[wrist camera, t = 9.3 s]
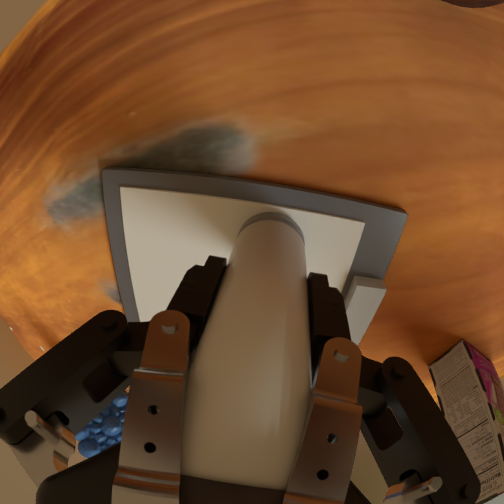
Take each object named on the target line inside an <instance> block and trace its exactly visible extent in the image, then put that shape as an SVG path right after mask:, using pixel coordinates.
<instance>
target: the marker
mask: <svg viewBox="0 0 504 504" xmlns="http://www.w3.org/2000/svg"><path fill="white" fill-rule="evenodd" d="M311 388H312V375H311V339H310V315H309V296H308V280H307V266H306V253H305V241H304V236H303V233H302V231H301V229H300V227H299V226H298V225H297V223H296V222H295V221H293V220H292V219H291V218H289V217H287V216H285V215H283V214H280V213H274V212H265V213H260V214H257V215H255V216H253V217H251V218H249V219H248V220H247V221H246V222H245V223H244V224H243V225H242V227H241V229H240V231H239V233H238V236H237V239H236V241H235V244H234V247H233V249H232V252H231V255H230V258H229V260H228V263H227V266H226V269H225V271H224V274H223V277H222V280H221V282H220V285H219V288H218V291H217V293H216V296H215V299H214V302H213V304H212V307H211V310H210V313H209V316H208V318H207V321H206V324H205V327H204V330H203V332H202V335H201V338H200V341H199V344H198V347H197V350H196V352H195V355H194V358H193V361H192V364H191V367H190V370H189V373H188V381H187V389H186V399H185V412H184V426H183V447H182V475H181V504H281V501H282V498H283V495H284V493H285V487H286V484H287V481H288V478H289V475H290V472H291V469H292V466H293V462H294V459H295V456H296V452H297V449H298V445H299V442H300V438H301V434H302V430H303V426H304V422H305V418H306V413H307V409H308V404H309V399H310V393H311Z"/></svg>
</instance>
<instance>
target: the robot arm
mask: <svg viewBox="0 0 504 504" xmlns="http://www.w3.org/2000/svg"><path fill="white" fill-rule="evenodd" d="M226 265H227V259H226V258H223V257H217V256H211V255H209V256H208V258H207V260H206V263H205V265H204V266H201V265H194V266H193V267H191V268H190V269H189V270H187V272H186V273H185V275H184V277H183V280H182V281H181V282H180V284H179V287H178V288H177V290H176V292H175V294H174V295H173V297H172V299H171V301H170V303H169V305H168V307H167V309H166V310H165V311H161V312H159V313H157V314H155V315H154V316H153V317H152V319H151V320H150V321H147V322H128V321H127V318H126V316H125V315H124V314H123V313H121V312H119V311H116V310H106V311H103V312H100V313H99V314H97V315H96V316H94V317H93V318H92V319H90V320H89V321H88V322H86V323H85V324H83V325H82V326H81V327H79V328H78V329H77V330H75V331H74V332H73V333H71V334H70V335H69V336H67V337H66V338H65V339H63V340H62V341H61V342H59V343H58V344H57V345H55V346H54V347H53V348H51V349H50V350H49V351H48V352H46V353H45V354H44V355H42V356H41V357H40V358H39V359H37V360H36V361H35V362H33V363H32V364H31V365H30V366H28V367H27V368H26V369H25V370H23V371H22V372H21V373H20V374H18V375H17V376H16V377H15V378H14V379H12V380H11V381H10V382H9V383H7V384H6V385H5V386H4V387H3V388H1V389H0V438H1V439H2V440H3V441H4V442H5V443H6V444H8V445H9V446H10V448H11V449H12V451H13V453H14V454H15V456H16V458H17V459H18V460H19V462H20V464H21V465H22V467H23V468H24V469H25V471H26V472H27V474H28V475H29V476H30V478H31V479H32V480H33V482H34V483H35V484H36V486H37V487H38V490H37V493H36V504H181V475H182V447H183V426H184V412H185V399H186V389H187V381H188V373H189V370H190V367H191V364H192V361H193V358H194V355H195V352H196V350H197V347H198V344H199V341H200V338H201V335H202V332H203V330H204V327H205V324H206V321H207V318H208V316H209V313H210V310H211V307H212V304H213V302H214V299H215V296H216V293H217V291H218V288H219V285H220V282H221V280H222V277H223V274H224V271H225V269H226ZM307 280H308V296H309V315H310V339H311V375H312V388H311V393H310V399H309V404H308V409H307V413H306V418H305V422H304V426H303V430H302V434H301V438H300V442H299V445H298V449H297V452H296V456H295V459H294V462H293V466H292V469H291V472H290V475H289V478H288V481H287V484H286V487H285V493H284V495H283V498H282V501H281V504H371V503H370V502H369V501H368V499H367V498H366V497H365V496H364V495H363V494H362V493H361V492H360V490H359V489H358V488H357V487H356V486H355V485H354V484H353V482H352V481H351V480H350V478H351V474H352V469H353V465H354V460H355V455H356V450H357V444H358V438H359V432H360V430H361V432H362V434H363V436H364V438H365V440H366V442H367V444H368V446H369V448H370V450H371V452H372V454H373V456H374V458H375V460H376V463H377V464H378V466H379V469H380V471H381V473H382V475H383V477H384V479H385V481H386V483H387V485H388V488H389V489H388V491H387V492H386V495H385V498H384V499H383V504H475V503H476V501H477V500H478V498H479V495H480V491H481V484H480V480H479V478H478V476H477V474H476V472H475V470H474V468H473V466H472V465H471V463H470V461H469V459H468V457H467V455H466V453H465V452H464V450H463V448H462V446H461V444H460V443H459V441H458V439H457V437H456V436H455V434H454V432H453V430H452V429H451V427H450V425H449V424H448V422H447V420H446V419H445V417H444V415H443V414H442V412H441V410H440V409H439V407H438V406H437V404H436V402H435V401H434V399H433V398H432V396H431V395H430V393H429V391H428V390H427V388H426V387H425V385H424V384H423V382H422V381H421V379H420V378H419V376H418V375H417V373H416V372H415V370H414V369H413V367H412V366H411V365H410V363H408V362H407V361H406V360H404V359H403V358H400V357H389V358H387V359H386V360H385V361H384V362H383V363H380V362H377V361H374V360H371V359H368V358H366V357H364V356H362V354H361V351H360V349H359V347H358V346H357V345H356V344H355V343H354V342H352V340H351V335H350V329H349V324H348V319H347V314H346V308H345V303H344V299H343V296H342V294H341V293H340V292H339V290H338V289H337V288H335V287H329V282H328V276H327V274H320V273H314V272H310V273H309V275H308V278H307ZM129 385H130V389H129V394H128V400H127V406H126V412H125V418H124V425H123V432H122V439H121V442H119V443H117V444H115V445H113V446H111V447H109V448H108V449H106V450H104V451H102V452H100V453H98V454H96V455H94V456H92V457H90V458H88V459H86V460H84V461H82V462H80V463H78V464H76V465H73V466H71V467H69V468H68V460H69V458H70V456H71V455H72V454H74V453H75V447H76V440H75V435H77V434H78V433H79V432H80V431H81V430H82V429H83V428H84V427H85V426H86V425H87V424H89V423H90V422H91V421H92V420H93V419H94V418H95V417H96V416H97V415H98V414H99V413H100V412H102V411H103V410H104V409H105V408H106V407H107V406H108V405H109V404H110V403H111V402H112V401H113V400H114V399H115V398H117V397H118V396H119V395H120V394H121V393H122V392H123V391H124V390H125V389H126V388H127V387H128V386H129ZM390 408H391V409H390ZM391 410H392V411H393V412H392V411H391ZM393 413H394V414H393ZM394 415H395V416H394ZM395 417H396V418H395ZM397 420H398V421H397ZM398 422H399V423H398ZM399 424H400V425H399ZM400 426H401V427H400Z"/></svg>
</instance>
